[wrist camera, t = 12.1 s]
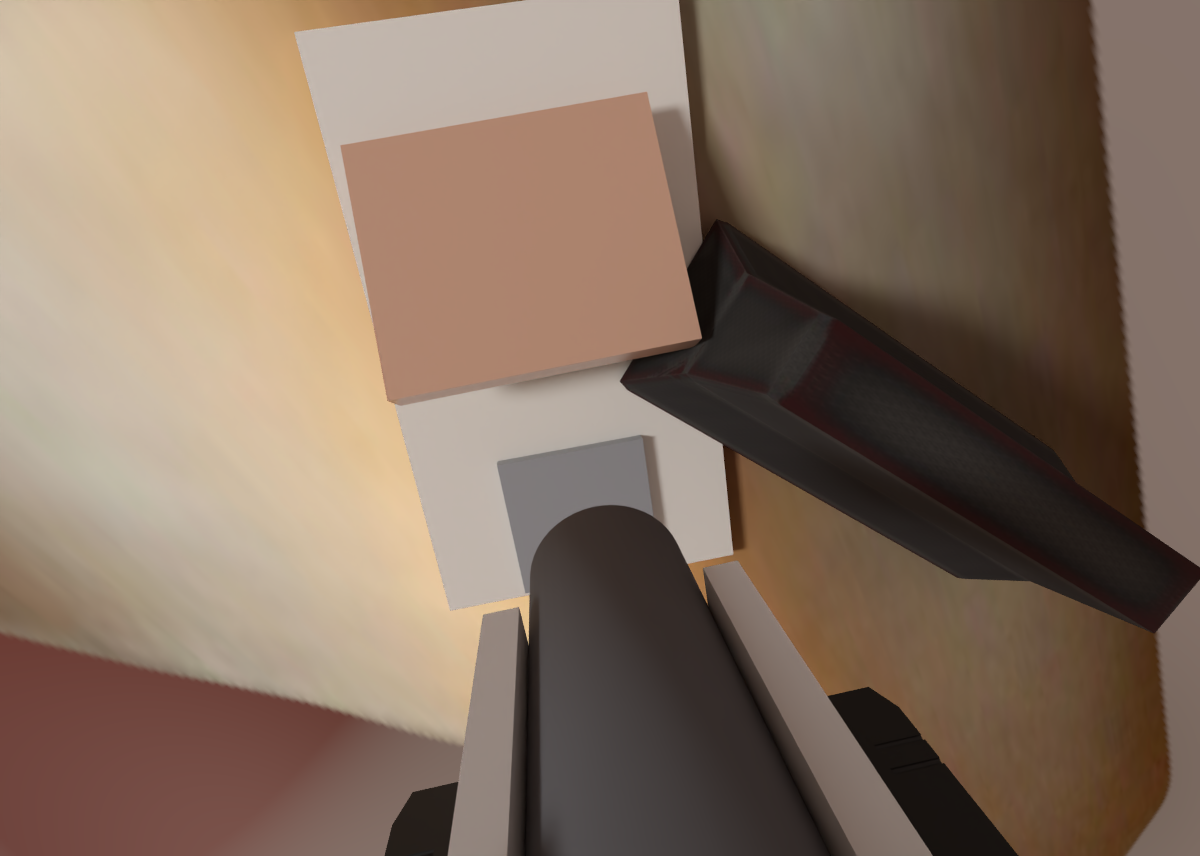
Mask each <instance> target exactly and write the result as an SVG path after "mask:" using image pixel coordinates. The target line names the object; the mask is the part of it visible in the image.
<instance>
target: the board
mask: <svg viewBox="0 0 1200 856" xmlns="http://www.w3.org/2000/svg"><path fill="white" fill-rule="evenodd" d="M294 33H295V37H296V41H297V44H298V48H299V52H300V55H301V59H302V63H303V66H304V70H305V74H306V78H307V81H308V85H309V89H310V92H311V96H312V100H313V104H314V107H315V111H316V115H317V118H318V122H319V126H320V129H321V133H322V137H323V141H324V144H325V148H326V152H327V155H328V159H329V163H330V167H331V170H332V174H333V178H334V181H335V185H336V189H337V193H338V196H339V200H340V204H341V207H342V211H343V215H344V218H345V222H346V226H347V230H348V233H349V237H350V241H351V244H352V248H353V252H354V256H355V259H356V263H357V267H358V270H359V274H360V278H361V281H362V285H363V289H364V293H365V296H366V300H367V304H368V307H369V311H370V315H371V319H372V314H371V309H370V303H369V298H368V293H367V287H366V282H365V276H364V271H363V266H362V260H361V255H360V249H359V244H358V239H357V233H356V228H355V222H354V217H353V212H352V206H351V201H350V195H349V190H348V185H347V179H346V174H345V168H344V163H343V158H342V152H341V147H340V145H345V144H351V143H357V142H362V141H368V140H374V139H379V138H385V137H391V136H397V135H402V134H408V133H414V132H419V131H425V130H431V129H436V128H442V127H448V126H454V125H459V124H465V123H471V122H476V121H482V120H488V119H494V118H499V117H505V116H511V115H516V114H522V113H528V112H534V111H539V110H545V109H551V108H556V107H562V106H568V105H574V104H579V103H585V102H591V101H596V100H602V99H608V98H613V97H619V96H625V95H631V94H636V93H642V92H647V94H648V98H649V103H650V107H651V112H652V116H653V121H654V125H655V130H656V134H657V139H658V143H659V148H660V152H661V157H662V161H663V165H664V170H665V174H666V179H667V183H668V188H669V192H670V197H671V201H672V206H673V210H674V215H675V219H676V224H677V228H678V233H679V237H680V242H681V246H682V251H683V255H684V260H685V264H686V268H688V266H689V264H690V263H691V261H692V259H693V258H694V256H695V254H696V253H697V251H698V249H699V248H700V246H701V244H702V243H703V242H702V231H701V221H700V211H699V201H698V191H697V181H696V170H695V160H694V150H693V140H692V130H691V120H690V110H689V99H688V89H687V79H686V69H685V59H684V49H683V38H682V28H681V18H680V8H679V0H525V1H518V2H511V3H503V4H496V5H489V6H481V7H474V8H467V9H460V10H452V11H445V12H438V13H430V14H423V15H416V16H408V17H401V18H394V19H387V20H379V21H372V22H365V23H357V24H350V25H343V26H335V27H328V28H321V29H313V30H306V31H299V32H294ZM372 322H373V319H372ZM373 326H374V325H373ZM632 360H633V359H632ZM632 360H627V361H622V362H617V363H612V364H607V365H602V366H597V367H592V368H587V369H582V370H577V371H572V372H567V373H562V374H557V375H552V376H547V377H542V378H537V379H532V380H527V381H522V382H517V383H512V384H507V385H502V386H497V387H492V388H487V389H482V390H477V391H472V392H467V393H462V394H457V395H452V396H447V397H442V398H437V399H432V400H427V401H422V402H417V403H412V404H407V405H402V406H400V405H397V404H395V408H396V411H397V415H398V419H399V422H400V426H401V430H402V434H403V437H404V441H405V445H406V448H407V452H408V456H409V459H410V463H411V467H412V471H413V474H414V478H415V482H416V485H417V489H418V493H419V497H420V500H421V504H422V508H423V511H424V515H425V519H426V522H427V526H428V530H429V534H430V537H431V541H432V545H433V548H434V552H435V556H436V560H437V563H438V567H439V571H440V574H441V578H442V582H443V586H444V589H445V593H446V597H447V600H448V604H449V608H450V611H451V610H456V609H461V608H466V607H471V606H476V605H481V604H486V603H492V602H497V601H502V600H507V599H512V598H517V597H522V596H527V595H530V571H531V564H532V561H533V557H534V555H535V552H536V550H537V548H538V546H539V545H540V543H541V541H542V540H543V538H544V537H545V536H546V535H547V533H548V532H549V531H550V530H551V529H552V528H553V527H554V526H555V525H557V524H558V523H559V522H561V521H562V520H563V519H565V518H567V517H568V516H570V515H572V514H574V513H576V512H579V511H581V510H584V509H587V508H591V507H595V506H602V505H620V506H627V507H631V508H635V509H638V510H641V511H643V512H646V513H647V514H649V515H651V516H653V517H654V518H656V519H657V520H658V521H660V522H661V523H662V524H663V525H664V526H665V527H666V528H667V529H668V530H669V531H670V533H671V534H672V535H673V537H674V539H675V540H676V542H677V544H678V546H679V548H680V550H681V552H682V554H683V556H684V558H685V560H686V562H687V564H688V563H693V562H698V561H703V560H708V559H713V558H718V557H723V556H728V555H733V547H732V536H731V526H730V516H729V506H728V496H727V486H726V475H725V465H724V455H723V445H722V444H721V443H719V442H718V441H716V440H714V439H712V438H711V437H709V436H707V435H705V434H704V433H702V432H700V431H698V430H697V429H695V428H693V427H691V426H689V425H688V424H686V423H684V422H682V421H681V420H679V419H677V418H675V417H674V416H672V415H670V414H668V413H667V412H665V411H663V410H661V409H660V408H658V407H656V406H654V405H652V404H651V403H649V402H647V401H645V400H644V399H642V398H640V397H638V396H637V395H635V394H633V393H631V392H630V391H628V390H626V388H625V387H624V386H623V385H622V384H621V383H620V380H621V378H622V376H623V375H624V373H625V371H626V370H627V368H628V366H629V365H630V363H631V361H632Z"/></svg>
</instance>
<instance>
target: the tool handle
mask: <svg viewBox="0 0 1200 856" xmlns="http://www.w3.org/2000/svg"><path fill="white" fill-rule="evenodd" d="M525 856H831V855H830V853H829V851H828V849H827V847H826V845H825V843H824V841H823V839H822V836H821V834H820V832H819V830H818V828H817V826H816V824H815V822H814V820H813V818H812V816H811V814H810V812H809V810H808V808H807V806H806V804H805V802H804V800H803V798H802V796H801V794H800V792H799V790H798V788H797V786H796V784H795V782H794V780H793V778H792V776H791V774H790V771H789V769H788V767H787V765H786V763H785V761H784V759H783V757H782V755H781V753H780V751H779V749H778V747H777V745H776V743H775V741H774V739H773V737H772V735H771V733H770V731H769V729H768V727H767V725H766V723H765V721H764V719H763V717H762V715H761V713H760V711H759V709H758V707H757V704H756V702H755V700H754V698H753V696H752V694H751V692H750V690H749V688H748V686H747V684H746V682H745V680H744V678H743V676H742V674H741V672H740V670H739V668H738V666H737V664H736V662H735V660H734V658H733V656H732V654H731V652H730V650H729V648H728V646H727V644H726V642H725V639H724V637H723V635H722V633H721V631H720V629H719V627H718V625H717V623H716V621H715V619H714V617H713V615H712V613H711V611H710V609H709V607H708V605H707V603H706V601H705V599H704V597H703V595H702V593H701V591H700V589H699V587H698V585H697V583H696V581H695V579H694V577H693V574H692V572H691V570H690V568H689V566H688V564H687V562H686V560H685V558H684V556H683V554H682V552H681V550H680V548H679V546H678V544H677V542H676V540H675V539H674V537H673V535H672V534H671V533H670V531H669V530H668V529H667V528H666V527H665V526H664V525H663V524H662V523H661V522H660V521H658V520H657V519H656V518H654V517H653V516H651V515H649V514H647V513H646V512H643V511H641V510H638V509H635V508H631V507H627V506H620V505H602V506H595V507H591V508H587V509H584V510H581V511H579V512H576V513H574V514H572V515H570V516H568V517H567V518H565V519H563V520H562V521H561V522H559V523H558V524H557V525H555V526H554V527H553V528H552V529H551V530H550V531H549V532H548V533H547V535H546V536H545V537H544V538H543V540H542V541H541V543H540V545H539V546H538V548H537V550H536V552H535V555H534V557H533V561H532V564H531V571H530V605H529V660H528V715H527V770H526V824H525Z"/></svg>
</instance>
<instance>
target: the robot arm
mask: <svg viewBox="0 0 1200 856" xmlns="http://www.w3.org/2000/svg"><path fill="white" fill-rule="evenodd" d="M703 572H704V579H705V586H706V593H707V601H708V607H709V609H710V611H711V613H712V615H713V617H714V619H715V621H716V623H717V625H718V627H719V629H720V631H721V633H722V635H723V637H724V639H725V642H726V644H727V646H728V648H729V650H730V652H731V654H732V656H733V658H734V660H735V662H736V664H737V666H738V668H739V670H740V672H741V674H742V676H743V678H744V680H745V682H746V684H747V686H748V688H749V690H750V692H751V694H752V696H753V698H754V700H755V702H756V704H757V707H758V709H759V711H760V713H761V715H762V717H763V719H764V721H765V723H766V725H767V727H768V729H769V731H770V733H771V735H772V737H773V739H774V741H775V743H776V745H777V747H778V749H779V751H780V753H781V755H782V757H783V759H784V761H785V763H786V765H787V767H788V769H789V771H790V774H791V776H792V778H793V780H794V782H795V784H796V786H797V788H798V790H799V792H800V794H801V796H802V798H803V800H804V802H805V804H806V806H807V808H808V810H809V812H810V814H811V816H812V818H813V820H814V822H815V824H816V826H817V828H818V830H819V832H820V834H821V836H822V839H823V841H824V843H825V845H826V847H827V849H828V851H829V853H830V855H831V856H1018V855H1017V853H1016V852H1015V851H1014V850H1013V848H1012V847H1011V846H1010V845H1009V843H1008V842H1007V841H1006V840H1005V839H1004V837H1003V836H1002V835H1001V834H1000V832H999V831H998V830H997V829H996V827H995V826H994V825H993V824H992V822H991V821H990V820H989V819H988V817H987V816H986V815H985V814H984V812H983V811H982V810H981V809H980V807H979V806H978V805H977V804H976V802H975V801H974V800H973V799H972V797H971V796H970V795H969V794H968V793H967V791H966V790H965V789H964V788H963V786H962V785H961V784H960V783H959V781H958V780H957V779H956V778H955V776H954V775H953V774H952V773H951V771H950V770H949V769H948V768H947V766H946V765H945V764H944V763H943V764H942V763H941V761H940V759H939V756H938V755H937V754H936V753H935V751H934V750H933V749H932V748H931V746H930V745H929V744H928V743H927V742H926V740H923V739H922V737H921V734H920V733H919V732H918V730H917V729H916V728H915V727H914V725H913V724H912V723H911V722H910V720H909V719H908V718H907V717H906V715H905V714H904V713H903V712H902V710H901V709H900V708H899V707H898V706H896V705H895V704H893V703H892V702H890V701H889V700H887V699H886V698H884V697H883V696H881V695H880V694H878V693H877V692H875V691H874V690H872V689H871V688H869V687H866V688H862V689H857V690H853V691H848V692H844V693H839V694H835V695H831V696H827V695H826V694H825V692H824V691H823V689H822V688H821V686H820V685H819V683H818V682H817V680H816V679H815V677H814V675H813V674H812V672H811V671H810V669H809V668H808V666H807V665H806V663H805V662H804V660H803V659H802V657H801V656H800V654H799V653H798V651H797V650H796V648H795V647H794V645H793V644H792V642H791V641H790V639H789V638H788V636H787V635H786V633H785V632H784V630H783V629H782V627H781V626H780V624H779V623H778V621H777V620H776V618H775V617H774V615H773V614H772V612H771V610H770V609H769V607H768V606H767V604H766V603H765V601H764V600H763V598H762V597H761V595H760V594H759V592H758V591H757V589H756V588H755V586H754V585H753V583H752V582H751V580H750V579H749V577H748V576H747V574H746V573H745V571H744V570H743V568H742V567H741V565H740V564H739V562H738V561H734V562H729V563H724V564H720V565H715V566H710V567H705V568H703ZM528 660H529V645H528V641H527V637H526V633H525V629H524V625H523V621H522V617H521V613H520V609H519V607H518V608H513V609H508V610H503V611H499V612H494V613H489V614H485V615H483V619H482V626H481V632H480V639H479V646H478V653H477V660H476V666H475V673H474V680H473V687H472V694H471V700H470V707H469V714H468V721H467V728H466V734H465V741H464V748H463V755H462V762H461V768H460V775H459V782H456V783H451V784H447V785H442V786H438V787H434V788H429V789H425V790H420V791H416V792H413V793H412V794H411V796H410V798H409V799H408V801H407V803H406V804H405V806H404V807H403V809H402V811H401V812H400V814H399V815H398V817H397V818H396V820H395V822H394V823H393V825H392V828H391V832H390V836H389V840H388V844H387V848H386V852H385V856H525V824H526V770H527V715H528Z"/></svg>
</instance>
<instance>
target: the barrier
mask: <svg viewBox="0 0 1200 856" xmlns="http://www.w3.org/2000/svg"><path fill="white" fill-rule="evenodd" d="M687 273H688V277H689V282H690V286H691V291H692V295H693V300H694V304H695V309H696V313H697V318H698V322H699V327H700V331H701V336H702V339H701V340H700V341H699V342H698V343H697V344H696V345H695V346H694V347H691V348H688V349H683V350H678V351H673V352H668V353H663V354H658V355H653V356H647V357H642V358H637V359H633V360H632V361H631V363H630V365H629V366H628V368H627V370H626V371H625V373H624V375H623V376H622V378H621V380H620V383H621V384H622V385H623V386H624V387H625V388H626V390H628V391H630V392H631V393H633V394H635V395H637V396H638V397H640V398H642V399H644V400H645V401H647V402H649V403H651V404H652V405H654V406H656V407H658V408H660V409H661V410H663V411H665V412H667V413H668V414H670V415H672V416H674V417H675V418H677V419H679V420H681V421H682V422H684V423H686V424H688V425H689V426H691V427H693V428H695V429H697V430H698V431H700V432H702V433H704V434H705V435H707V436H709V437H711V438H712V439H714V440H716V441H718V442H719V443H721V444H723V445H725V446H726V447H728V448H730V449H732V450H733V451H735V452H737V453H739V454H741V455H742V456H744V457H746V458H748V459H749V460H751V461H753V462H755V463H756V464H758V465H760V466H762V467H763V468H765V469H767V470H769V471H770V472H772V473H774V474H776V475H778V476H779V477H781V478H783V479H785V480H786V481H788V482H790V483H792V484H793V485H795V486H797V487H799V488H800V489H802V490H804V491H806V492H807V493H809V494H811V495H813V496H814V497H816V498H818V499H820V500H822V501H823V502H825V503H827V504H829V505H830V506H832V507H834V508H836V509H837V510H839V511H841V512H843V513H844V514H846V515H848V516H850V517H851V518H853V519H855V520H857V521H859V522H860V523H862V524H864V525H866V526H867V527H869V528H871V529H873V530H874V531H876V532H878V533H880V534H881V535H883V536H885V537H887V538H888V539H890V540H892V541H894V542H896V543H897V544H899V545H901V546H903V547H904V548H906V549H908V550H910V551H911V552H913V553H915V554H917V555H918V556H920V557H922V558H924V559H925V560H927V561H929V562H931V563H932V564H934V565H936V566H938V567H940V568H941V569H943V570H945V571H947V572H948V573H950V574H952V575H954V576H955V577H957V578H963V579H986V580H1013V581H1031V582H1034V583H1036V584H1038V585H1041V586H1043V587H1045V588H1048V589H1050V590H1053V591H1055V592H1057V593H1060V594H1062V595H1064V596H1067V597H1069V598H1072V599H1074V600H1076V601H1079V602H1081V603H1083V604H1086V605H1088V606H1090V607H1093V608H1095V609H1098V610H1100V611H1102V612H1105V613H1107V614H1109V615H1112V616H1114V617H1117V618H1119V619H1121V620H1124V621H1126V622H1128V623H1131V624H1133V625H1136V626H1138V627H1140V628H1143V629H1145V630H1147V631H1150V632H1152V633H1155V632H1156V631H1157V630H1158V629H1159V628H1160V626H1161V625H1162V624H1163V623H1164V621H1165V620H1166V619H1167V618H1168V617H1169V616H1170V614H1171V613H1172V612H1173V611H1174V610H1175V608H1176V607H1177V606H1178V605H1179V604H1180V602H1181V601H1182V600H1183V599H1184V598H1185V596H1186V595H1187V594H1188V593H1189V592H1190V591H1191V589H1192V588H1193V587H1194V586H1195V585H1196V583H1197V582H1198V581H1199V580H1200V567H1198V566H1197V565H1195V564H1194V563H1192V562H1191V561H1189V560H1188V559H1187V558H1185V557H1184V556H1182V555H1181V554H1179V553H1178V552H1177V551H1175V550H1173V549H1172V548H1171V547H1169V546H1168V545H1166V544H1165V543H1163V542H1162V541H1160V540H1159V539H1158V538H1156V537H1155V536H1153V535H1152V534H1150V533H1149V532H1147V531H1146V530H1144V529H1143V528H1141V527H1140V526H1139V525H1137V524H1136V523H1134V522H1133V521H1131V520H1130V519H1128V518H1127V517H1125V516H1124V515H1123V514H1121V513H1120V512H1118V511H1117V510H1115V509H1114V508H1112V507H1111V506H1109V505H1108V504H1106V503H1105V502H1104V501H1102V500H1101V499H1099V498H1098V497H1096V496H1095V495H1093V494H1092V493H1090V492H1089V491H1087V490H1086V489H1085V488H1083V487H1082V486H1080V485H1079V484H1077V483H1076V482H1075V480H1074V479H1073V477H1072V476H1071V475H1070V473H1069V472H1068V470H1067V469H1066V467H1065V466H1064V464H1063V463H1062V461H1061V460H1060V459H1059V457H1058V456H1057V454H1056V453H1055V452H1054V450H1053V449H1051V448H1050V447H1048V446H1047V445H1046V444H1044V443H1043V442H1041V441H1040V440H1038V439H1037V438H1036V437H1034V436H1033V435H1031V434H1030V433H1028V432H1027V431H1026V430H1024V429H1023V428H1021V427H1020V426H1018V425H1017V424H1015V423H1014V422H1013V421H1011V420H1010V419H1008V418H1007V417H1005V416H1004V415H1003V414H1001V413H1000V412H998V411H997V410H995V409H994V408H993V407H991V406H990V405H988V404H987V403H985V402H984V401H982V400H981V399H980V398H978V397H977V396H975V395H974V394H972V393H971V392H970V391H968V390H967V389H965V388H964V387H962V386H961V385H960V384H958V383H957V382H955V381H954V380H952V379H951V378H949V377H948V376H947V375H945V374H944V373H942V372H941V371H939V370H938V369H937V368H935V367H934V366H932V365H931V364H929V363H928V362H927V361H925V360H924V359H922V358H921V357H919V356H918V355H916V354H915V353H914V352H912V351H911V350H909V349H908V348H906V347H905V346H904V345H902V344H901V343H899V342H898V341H896V340H895V339H894V338H892V337H891V336H889V335H888V334H886V333H885V332H883V331H882V330H881V329H879V328H878V327H876V326H875V325H873V324H872V323H871V322H869V321H868V320H866V319H865V318H863V317H862V316H861V315H859V314H858V313H856V312H855V311H853V310H852V309H850V308H849V307H848V306H846V305H845V304H843V303H842V302H840V301H839V300H838V299H836V298H835V297H833V296H832V295H830V294H829V293H828V292H826V291H825V290H823V289H822V288H820V287H819V286H817V285H816V284H815V283H813V282H812V281H810V280H809V279H807V278H806V277H805V276H803V275H802V274H800V273H799V272H797V271H796V270H795V269H793V268H792V267H790V266H789V265H787V264H786V263H784V262H783V261H782V260H780V259H779V258H777V257H776V256H774V255H773V254H772V253H770V252H769V251H767V250H766V249H764V248H763V247H762V246H760V245H759V244H757V243H756V242H754V241H753V240H751V239H750V238H749V237H747V236H746V235H744V234H743V233H741V232H740V231H739V230H737V229H736V228H734V227H733V226H731V225H730V224H729V223H726V222H722V221H720V220H717V219H716V221H715V222H714V224H713V226H712V227H711V229H710V231H709V233H708V234H707V236H706V238H705V239H704V241H703V243H702V244H701V246H700V248H699V249H698V251H697V253H696V254H695V256H694V258H693V259H692V261H691V263H690V264H689V266H688V268H687Z"/></svg>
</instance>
